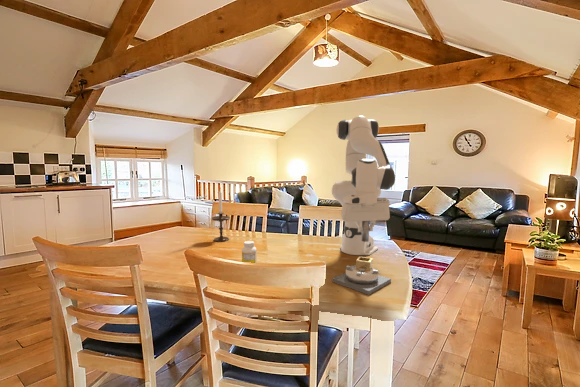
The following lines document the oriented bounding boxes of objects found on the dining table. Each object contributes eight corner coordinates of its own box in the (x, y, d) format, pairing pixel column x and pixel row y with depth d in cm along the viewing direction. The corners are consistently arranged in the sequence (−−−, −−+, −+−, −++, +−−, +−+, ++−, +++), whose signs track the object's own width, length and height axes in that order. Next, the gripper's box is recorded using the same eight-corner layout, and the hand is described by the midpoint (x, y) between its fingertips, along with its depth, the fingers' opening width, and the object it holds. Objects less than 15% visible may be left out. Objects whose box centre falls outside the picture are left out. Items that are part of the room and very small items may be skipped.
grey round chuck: (374, 286, 115) (375, 270, 114) (341, 280, 121) (342, 265, 120) (381, 274, 128) (381, 259, 127) (350, 269, 133) (351, 255, 133)
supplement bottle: (246, 266, 143) (245, 239, 141) (259, 267, 141) (258, 240, 139) (239, 271, 136) (239, 243, 135) (253, 272, 134) (252, 244, 133)
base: (355, 271, 136) (355, 262, 136) (390, 282, 124) (391, 272, 123) (332, 281, 124) (332, 272, 124) (368, 294, 112) (369, 284, 112)
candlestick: (213, 243, 183) (212, 185, 179) (211, 238, 193) (209, 184, 189) (231, 241, 186) (230, 185, 183) (228, 237, 197) (227, 183, 193)
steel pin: (363, 239, 128) (364, 218, 127) (370, 240, 126) (370, 219, 125) (360, 240, 126) (360, 219, 125) (366, 242, 124) (366, 220, 123)
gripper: (385, 196, 129) (384, 228, 131) (340, 197, 126) (339, 230, 127) (393, 198, 123) (392, 231, 125) (345, 199, 119) (345, 233, 121)
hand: (365, 231), depth 126 cm, fingers closed on steel pin, 3 cm apart
